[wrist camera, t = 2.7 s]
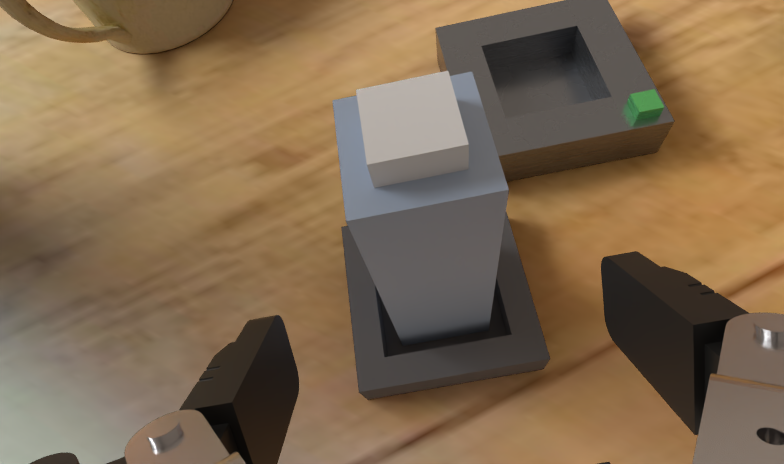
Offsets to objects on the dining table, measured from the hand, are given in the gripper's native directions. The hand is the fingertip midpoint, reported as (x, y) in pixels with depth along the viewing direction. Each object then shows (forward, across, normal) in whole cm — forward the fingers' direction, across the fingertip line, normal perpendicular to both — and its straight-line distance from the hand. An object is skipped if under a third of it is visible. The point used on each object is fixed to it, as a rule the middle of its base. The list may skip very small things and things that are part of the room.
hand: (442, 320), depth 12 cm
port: (+19, -8, -3) cm, 21 cm away
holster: (+11, 0, +5) cm, 12 cm away
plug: (+10, 0, +4) cm, 11 cm away
